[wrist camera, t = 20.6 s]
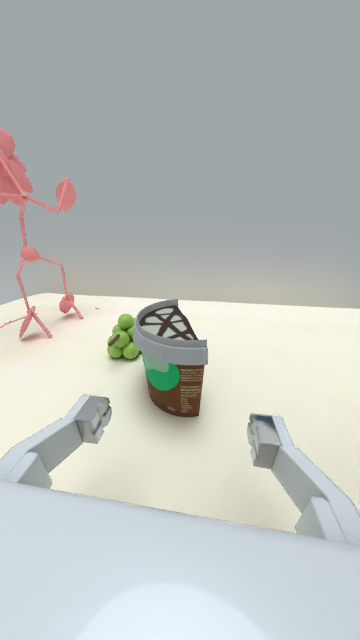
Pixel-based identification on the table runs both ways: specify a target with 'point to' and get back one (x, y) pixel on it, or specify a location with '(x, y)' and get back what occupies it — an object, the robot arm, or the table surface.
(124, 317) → the grapes
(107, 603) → the robot arm
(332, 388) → the table surface
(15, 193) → the figurine
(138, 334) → the food container
